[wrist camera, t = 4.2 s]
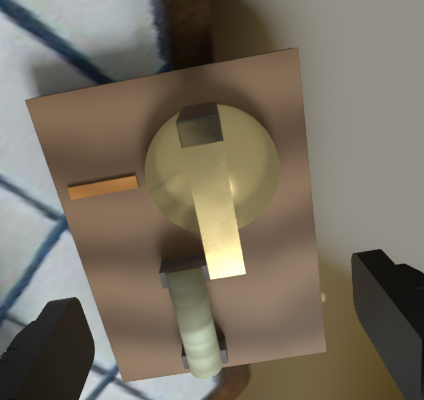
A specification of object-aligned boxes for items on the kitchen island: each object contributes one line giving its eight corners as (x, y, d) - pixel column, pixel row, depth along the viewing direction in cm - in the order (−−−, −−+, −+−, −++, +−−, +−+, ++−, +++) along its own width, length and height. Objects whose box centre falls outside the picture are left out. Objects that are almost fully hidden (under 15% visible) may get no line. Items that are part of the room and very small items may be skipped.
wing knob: (132, 114, 22) (107, 134, 17) (267, 89, 22) (289, 100, 16) (163, 236, 25) (151, 289, 19) (283, 216, 25) (306, 263, 19)
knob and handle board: (39, 96, 24) (0, 106, 19) (290, 48, 23) (310, 46, 19) (128, 363, 32) (115, 413, 27) (318, 333, 31) (338, 380, 26)
